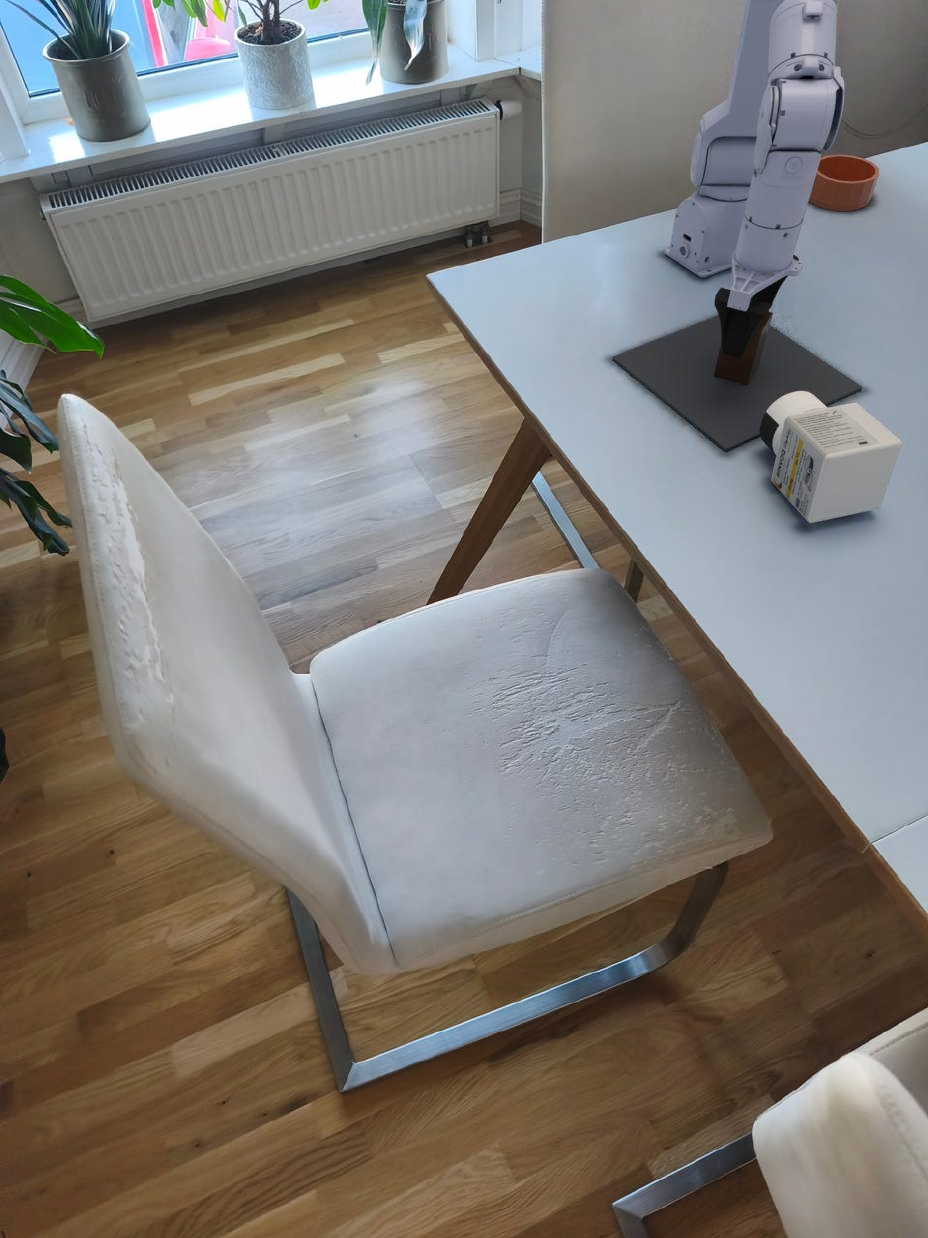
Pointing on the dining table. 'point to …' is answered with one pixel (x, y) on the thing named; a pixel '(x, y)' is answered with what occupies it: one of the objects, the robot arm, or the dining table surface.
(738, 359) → the block
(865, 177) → the orange round bowl
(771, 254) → the robot arm
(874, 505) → the container
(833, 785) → the dining table surface
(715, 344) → the mat
